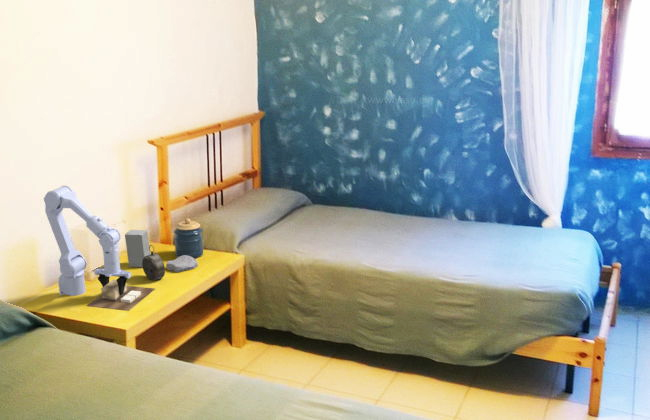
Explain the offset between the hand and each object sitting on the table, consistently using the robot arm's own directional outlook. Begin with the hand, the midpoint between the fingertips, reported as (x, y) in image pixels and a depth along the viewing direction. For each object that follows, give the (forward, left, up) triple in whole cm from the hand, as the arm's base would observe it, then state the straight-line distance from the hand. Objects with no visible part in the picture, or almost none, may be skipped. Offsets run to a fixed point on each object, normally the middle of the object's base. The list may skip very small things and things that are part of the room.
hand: (114, 293), depth 272 cm
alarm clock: (+6, +21, -3) cm, 22 cm away
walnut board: (+3, 0, -3) cm, 4 cm away
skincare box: (-9, +37, -3) cm, 38 cm away
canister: (+7, +55, -3) cm, 56 cm away
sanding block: (0, 0, -1) cm, 1 cm away
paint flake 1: (+7, -2, -1) cm, 7 cm away
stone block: (+11, +39, -3) cm, 41 cm away
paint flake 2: (+7, +2, -1) cm, 7 cm away
